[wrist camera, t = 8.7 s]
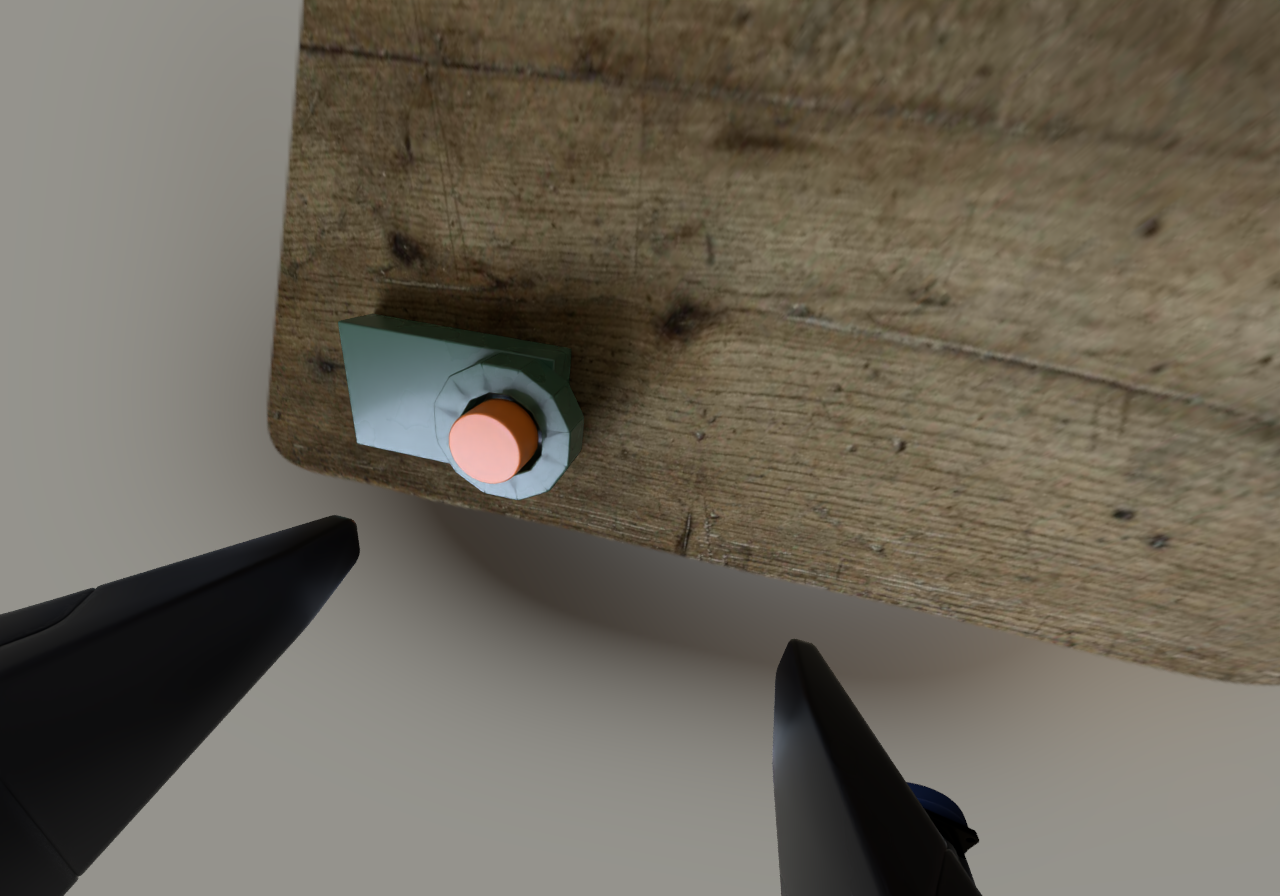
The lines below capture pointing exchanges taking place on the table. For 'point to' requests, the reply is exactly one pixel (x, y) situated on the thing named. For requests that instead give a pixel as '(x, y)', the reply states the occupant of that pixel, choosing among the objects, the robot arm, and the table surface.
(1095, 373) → the table surface
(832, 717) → the robot arm
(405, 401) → the button housing
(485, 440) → the button
